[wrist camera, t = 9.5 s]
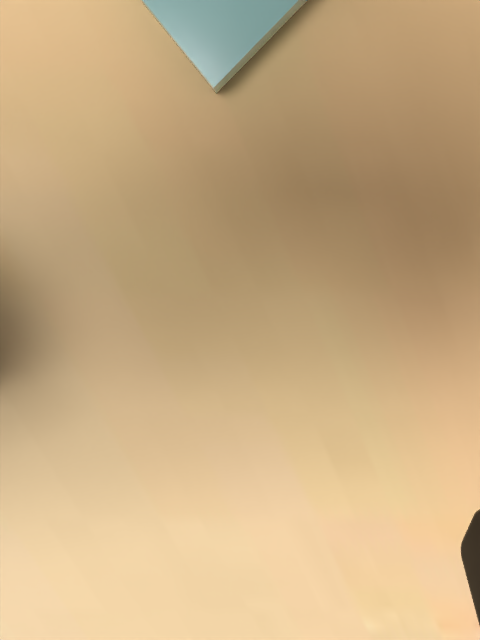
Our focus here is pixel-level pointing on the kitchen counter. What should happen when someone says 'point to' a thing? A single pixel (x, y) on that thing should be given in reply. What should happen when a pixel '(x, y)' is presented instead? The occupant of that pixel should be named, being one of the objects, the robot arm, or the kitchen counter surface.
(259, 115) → the kitchen counter surface
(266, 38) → the ceramic plinth
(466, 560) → the robot arm
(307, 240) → the kitchen counter surface
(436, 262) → the kitchen counter surface
